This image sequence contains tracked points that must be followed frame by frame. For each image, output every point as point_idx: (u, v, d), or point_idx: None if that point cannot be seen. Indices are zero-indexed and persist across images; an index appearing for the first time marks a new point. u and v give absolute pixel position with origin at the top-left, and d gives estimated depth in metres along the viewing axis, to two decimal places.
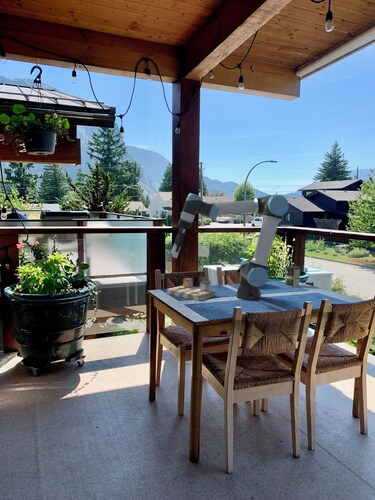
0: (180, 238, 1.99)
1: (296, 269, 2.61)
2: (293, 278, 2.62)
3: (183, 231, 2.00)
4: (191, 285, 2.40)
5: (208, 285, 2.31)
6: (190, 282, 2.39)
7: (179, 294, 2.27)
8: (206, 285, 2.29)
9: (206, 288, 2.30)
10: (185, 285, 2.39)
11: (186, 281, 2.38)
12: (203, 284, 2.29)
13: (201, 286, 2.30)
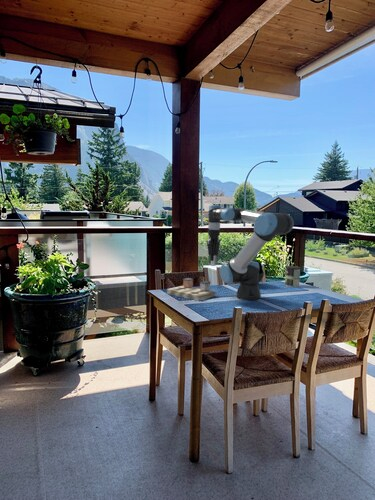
0: (208, 249, 2.32)
1: (296, 269, 2.61)
2: (293, 278, 2.62)
3: (208, 242, 2.30)
4: (191, 285, 2.40)
5: (208, 285, 2.31)
6: (190, 282, 2.39)
7: (179, 294, 2.27)
8: (206, 285, 2.29)
9: (206, 288, 2.30)
10: (185, 285, 2.39)
11: (186, 281, 2.38)
12: (203, 284, 2.29)
13: (201, 286, 2.30)
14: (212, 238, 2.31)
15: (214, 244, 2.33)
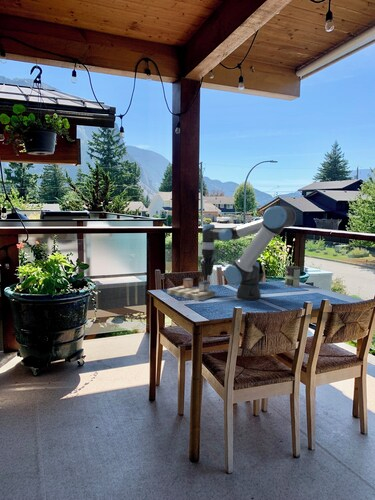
0: (202, 269, 2.29)
1: (296, 269, 2.61)
2: (293, 278, 2.62)
3: (201, 262, 2.27)
4: (191, 285, 2.40)
5: (207, 285, 2.30)
6: (190, 282, 2.39)
7: (179, 294, 2.27)
8: (205, 285, 2.28)
9: (205, 288, 2.29)
10: (185, 285, 2.39)
11: (186, 281, 2.38)
12: (202, 284, 2.28)
13: (200, 286, 2.29)
14: (206, 258, 2.28)
15: (208, 264, 2.30)
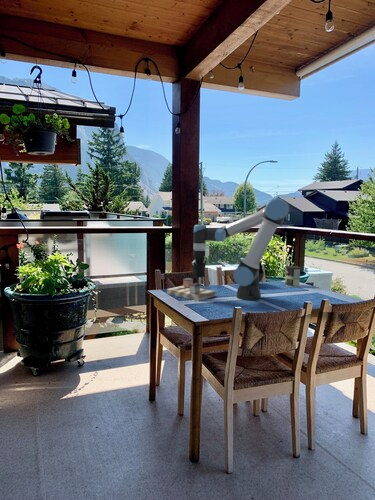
0: (193, 271, 2.22)
1: (296, 269, 2.61)
2: (293, 278, 2.62)
3: (192, 264, 2.20)
4: None
5: (198, 288, 2.23)
6: (190, 282, 2.39)
7: (179, 294, 2.27)
8: (196, 288, 2.21)
9: (196, 291, 2.22)
10: (185, 285, 2.39)
11: (186, 281, 2.38)
12: (193, 287, 2.21)
13: (191, 289, 2.22)
14: (197, 259, 2.21)
15: (199, 266, 2.23)
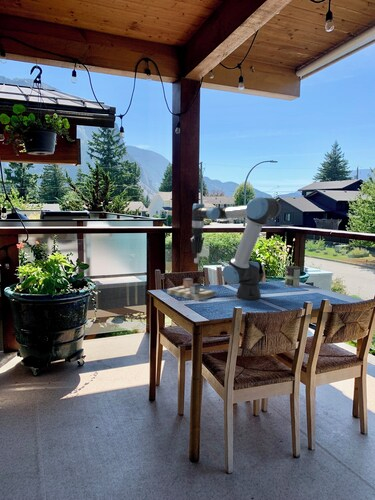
0: (192, 247, 2.37)
1: (296, 269, 2.61)
2: (293, 278, 2.62)
3: (191, 240, 2.35)
4: None
5: (198, 288, 2.23)
6: (190, 282, 2.39)
7: (179, 294, 2.27)
8: (196, 288, 2.21)
9: (196, 291, 2.22)
10: (185, 285, 2.39)
11: (186, 281, 2.38)
12: (193, 287, 2.21)
13: (191, 289, 2.22)
14: (196, 236, 2.37)
15: (197, 242, 2.38)
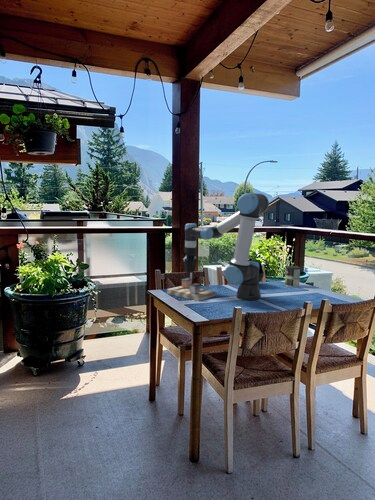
0: (185, 266, 2.38)
1: (296, 269, 2.61)
2: (293, 278, 2.62)
3: (184, 260, 2.36)
4: None
5: (198, 288, 2.23)
6: (188, 282, 2.38)
7: (179, 294, 2.27)
8: (196, 288, 2.21)
9: (196, 291, 2.22)
10: (183, 285, 2.38)
11: (184, 281, 2.37)
12: (193, 287, 2.21)
13: (191, 289, 2.22)
14: (188, 256, 2.37)
15: (190, 262, 2.38)
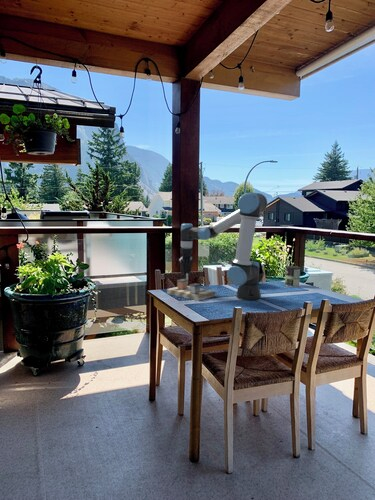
0: (180, 267, 2.34)
1: (296, 269, 2.61)
2: (293, 278, 2.62)
3: (180, 261, 2.33)
4: (185, 286, 2.36)
5: (198, 288, 2.23)
6: (184, 283, 2.35)
7: (179, 294, 2.27)
8: (196, 288, 2.21)
9: (196, 291, 2.22)
10: (179, 286, 2.34)
11: (180, 282, 2.33)
12: (193, 287, 2.21)
13: (191, 289, 2.22)
14: (184, 256, 2.34)
15: (186, 262, 2.35)
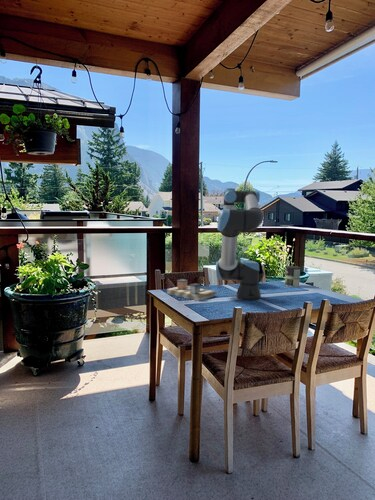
0: None
1: (296, 269, 2.61)
2: (293, 278, 2.62)
3: None
4: (185, 286, 2.36)
5: (198, 288, 2.23)
6: (184, 283, 2.35)
7: (179, 294, 2.27)
8: (196, 288, 2.21)
9: (196, 291, 2.22)
10: (179, 286, 2.34)
11: (180, 282, 2.33)
12: (193, 287, 2.21)
13: (191, 289, 2.22)
14: None
15: None
